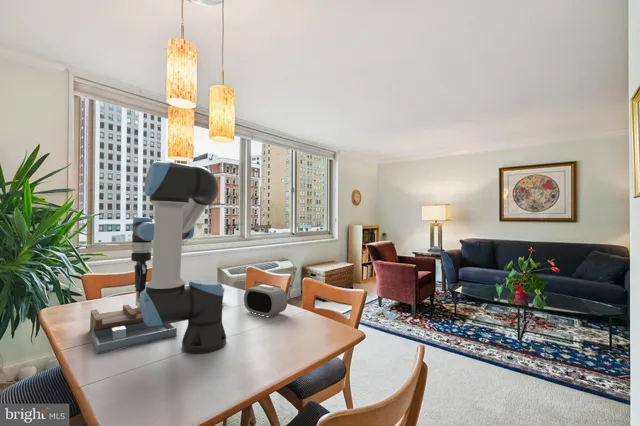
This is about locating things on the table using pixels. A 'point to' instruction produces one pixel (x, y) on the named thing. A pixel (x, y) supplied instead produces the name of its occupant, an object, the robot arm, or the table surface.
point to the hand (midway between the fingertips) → (139, 304)
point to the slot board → (114, 318)
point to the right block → (138, 307)
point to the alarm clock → (265, 300)
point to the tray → (132, 336)
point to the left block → (118, 333)
